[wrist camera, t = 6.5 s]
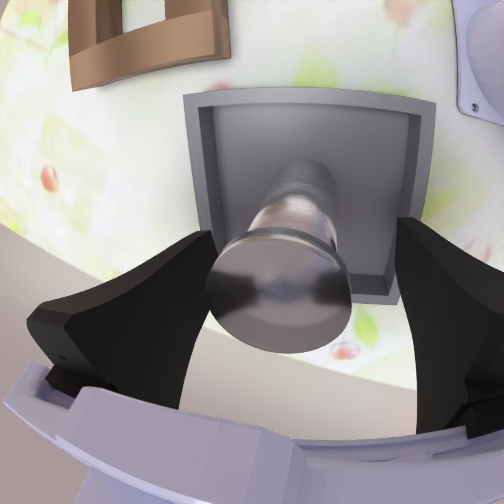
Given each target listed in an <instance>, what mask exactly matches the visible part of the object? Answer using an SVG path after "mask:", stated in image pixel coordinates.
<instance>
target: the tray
mask: <svg viewBox="0 0 504 504" xmlns="http://www.w3.org/2000/svg"><path fill="white" fill-rule="evenodd" d="M183 101H184V111H185V120H186V129H187V137H188V146H189V154H190V161H191V169H192V176H193V184H194V191H195V198H196V204H197V211H198V218H199V224H200V230H201V231H205V230H211V233H212V236H213V239H214V243H215V246H216V249H217V253H218V256H219V255H220V253H221V252H222V250H223V249H224V248H225V246H226V245H227V244H228V243H229V242H231V241H232V240H233V239H234V238H236V237H237V236H239V235H241V234H243V233H245V232H248V230H249V228H250V226H251V224H252V222H253V220H254V218H255V216H256V214H257V212H258V211H259V209H260V207H261V205H262V203H263V201H264V199H265V197H266V195H267V193H268V192H269V190H270V188H271V186H272V184H273V182H274V180H275V178H276V177H277V175H278V173H279V171H280V170H281V169H282V167H284V166H285V165H286V164H287V163H289V162H291V161H294V160H297V159H310V160H314V161H317V162H319V163H321V164H322V165H323V166H325V167H326V168H327V169H328V170H329V172H330V173H331V175H332V177H333V179H334V183H335V197H336V222H337V254H338V255H339V256H340V257H341V259H342V260H343V262H344V264H345V266H346V268H347V270H348V273H349V276H350V281H351V300H352V303H363V304H380V305H397V303H398V300H399V297H400V291H399V287H398V283H397V277H396V272H395V266H394V261H395V248H396V231H397V218H399V217H414V218H415V219H417V220H419V221H420V220H421V216H422V211H423V206H424V201H425V196H426V190H427V184H428V178H429V171H430V164H431V157H432V148H433V139H434V128H435V114H436V103H433V102H429V101H424V100H419V99H414V98H409V97H403V96H397V95H390V94H383V93H376V92H367V91H358V90H346V89H333V88H311V87H267V88H245V89H230V90H219V91H209V92H201V93H193V94H186V95H183Z"/></svg>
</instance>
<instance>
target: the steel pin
mask: <svg viewBox="0 0 504 504" xmlns="http://www.w3.org/2000/svg"><path fill="white" fill-rule="evenodd" d="M205 295H206V301H207V304H208V307H209V309H210V311H211V313H212V315H213V316H214V318H215V319H216V320H217V322H218V323H219V324H220V325H221V326H222V327H223V328H224V329H225V330H226V331H227V332H228V333H230V334H231V335H232V336H234V337H235V338H237V339H238V340H240V341H242V342H244V343H246V344H248V345H250V346H253V347H255V348H258V349H261V350H265V351H269V352H275V353H285V354H292V353H303V352H308V351H312V350H315V349H318V348H320V347H323V346H325V345H327V344H328V343H330V342H332V341H333V340H334V339H336V338H337V337H338V336H339V335H340V334H341V333H342V331H343V330H344V329H345V327H346V325H347V323H348V321H349V319H350V315H351V308H352V300H351V281H350V276H349V273H348V270H347V268H346V266H345V264H344V262H343V260H342V259H341V257H340V256H339V255H338V254H337V222H336V197H335V183H334V179H333V177H332V175H331V173H330V172H329V170H328V169H327V168H326V167H325V166H323V165H322V164H321V163H319V162H317V161H314V160H310V159H297V160H294V161H291V162H289V163H287V164H286V165H285V166H284V167H282V169H281V170H280V171H279V173H278V175H277V177H276V178H275V180H274V182H273V184H272V186H271V188H270V190H269V192H268V193H267V195H266V197H265V199H264V201H263V203H262V205H261V207H260V209H259V211H258V212H257V214H256V216H255V218H254V220H253V222H252V224H251V226H250V228H249V230H248V232H245V233H243V234H241V235H239V236H237V237H236V238H234V239H233V240H232V241H231V242H229V243H228V244H227V245H226V246H225V248H224V249H223V250H222V252H221V253H220V255H219V257H218V258H217V260H216V262H215V263H214V265H213V267H212V268H211V270H210V272H209V274H208V277H207V279H206V285H205Z"/></svg>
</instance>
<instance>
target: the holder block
mask: <svg viewBox="0 0 504 504" xmlns="http://www.w3.org/2000/svg"><path fill="white" fill-rule="evenodd" d="M165 18H166V20H165V21H162V22H158V23H155V24H151V25H148V26H145V27H142V28H139V29H136V30H133V31H130V32H127V33H124V34H122V15H121V0H69V1H68V42H69V61H70V74H71V84H72V92H74V91H78V90H83V89H89V88H94V87H99V86H102V85H105V84H109V83H112V82H115V81H118V80H122V79H125V78H129V77H132V76H136V75H140V74H143V73H147V72H152V71H156V70H160V69H165V68H169V67H174V66H179V65H185V64H191V63H196V62H203V61H210V60H217V59H225V58H231V52H230V37H229V22H228V6H227V0H165Z"/></svg>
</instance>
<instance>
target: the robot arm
mask: <svg viewBox="0 0 504 504" xmlns="http://www.w3.org/2000/svg"><path fill="white" fill-rule="evenodd" d="M452 1H453V8H454V15H455V24H456V34H457V48H458V107H459V110H460V111H461V112H462V113H464V114H467V115H471V116H474V117H477V118H481V119H484V120H487V121H490V122H493V123H496V124H499V125H502V126H504V1H502V2H499V1H497V0H452ZM473 103H474V104H475V107H476V109H475V111H474V112H473V110H472V108H471V106H472V104H473ZM218 257H219V256H218V253H217V249H216V246H215V243H214V239H213V236H212V233H211V230H205V231H197V232H194V233H192V234H190V235H188V236H186V237H185V238H183V239H181V240H179V241H178V242H176V243H175V244H173V245H172V246H170V247H168V248H167V249H165V250H164V251H162V252H161V253H159V254H157V255H156V256H154V257H152V258H151V259H149V260H147V261H146V262H144V263H142V264H141V265H139V266H137V267H136V268H134V269H132V270H130V271H128V272H126V273H124V274H122V275H120V276H118V277H116V278H114V279H112V280H110V281H107V282H105V283H103V284H100V285H98V286H96V287H93V288H91V289H88V290H85V291H83V292H79V293H76V294H73V295H70V296H67V297H63V298H59V299H55V300H51V301H46V302H43V303H41V304H40V305H39V306H38V307H37V308H36V309H35V310H34V311H33V312H32V314H31V315H30V316H29V317H28V318H27V327H28V330H29V332H30V334H31V336H32V337H33V339H34V340H35V342H36V343H37V344H38V345H39V347H40V348H41V349H42V350H43V352H44V353H45V354H46V355H47V357H48V358H49V359H50V360H51V361H52V363H53V364H55V365H54V366H53V367H52V369H51V370H50V369H49V368H48V367H46V366H45V365H43V364H41V363H39V362H37V361H35V360H31V361H30V363H29V364H28V365H27V367H26V368H25V369H24V371H23V372H22V374H21V375H20V377H19V378H18V379H17V381H16V383H15V384H14V386H13V387H12V388H11V390H10V391H9V393H8V394H7V396H6V397H5V399H4V401H3V402H4V404H5V405H6V406H7V407H8V408H10V409H11V410H12V411H13V412H14V413H15V414H17V415H18V416H19V417H20V418H21V419H22V420H23V421H25V422H26V423H27V424H28V425H29V426H31V427H32V428H33V429H34V430H36V431H37V432H38V433H40V434H41V435H42V436H43V437H45V438H46V439H48V440H49V441H50V442H52V443H53V444H55V445H56V446H57V447H59V448H60V449H62V450H63V451H65V452H67V453H68V454H70V455H71V456H73V457H74V458H76V459H78V460H79V461H81V462H82V463H84V464H86V465H87V466H89V467H90V469H89V471H88V473H87V475H86V477H85V479H84V481H83V483H82V485H81V487H80V490H79V492H78V494H77V496H76V498H75V500H74V502H73V504H490V503H493V502H495V501H498V500H500V499H503V498H504V272H502V271H500V270H498V269H495V268H493V267H491V266H489V265H487V264H485V263H484V262H482V261H480V260H478V259H476V258H475V257H473V256H471V255H469V254H468V253H466V252H464V251H463V250H461V249H460V248H458V247H457V246H455V245H454V244H452V243H451V242H449V241H448V240H446V239H445V238H443V237H442V236H440V235H439V234H438V233H436V232H435V231H433V230H432V229H431V228H429V227H428V226H426V225H425V224H423V223H422V222H420V221H419V220H417V219H415V218H414V217H399V218H397V231H396V248H395V261H394V266H395V272H396V277H397V283H398V287H399V291H400V294H401V298H402V301H403V304H404V308H405V311H406V315H407V318H408V322H409V326H410V330H411V334H412V339H413V344H414V353H415V362H416V376H417V427H416V435H408V436H401V437H391V438H380V439H379V438H378V439H363V440H301V439H290V438H289V437H286V436H283V435H280V434H278V433H275V432H273V431H270V430H267V429H265V428H262V427H259V426H254V425H250V424H245V423H240V422H236V421H231V420H228V419H223V418H217V417H211V416H205V415H200V414H195V413H190V412H185V411H181V410H178V409H179V403H180V398H181V393H182V388H183V384H184V379H185V376H186V372H187V368H188V365H189V361H190V358H191V355H192V351H193V348H194V344H195V342H196V339H197V337H198V334H199V332H200V330H201V328H202V326H203V323H204V321H205V319H206V317H207V315H208V312H209V310H210V309H209V307H208V304H207V301H206V295H205V285H206V279H207V277H208V274H209V272H210V270H211V268H212V267H213V265H214V263H215V262H216V260H217V258H218Z"/></svg>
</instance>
